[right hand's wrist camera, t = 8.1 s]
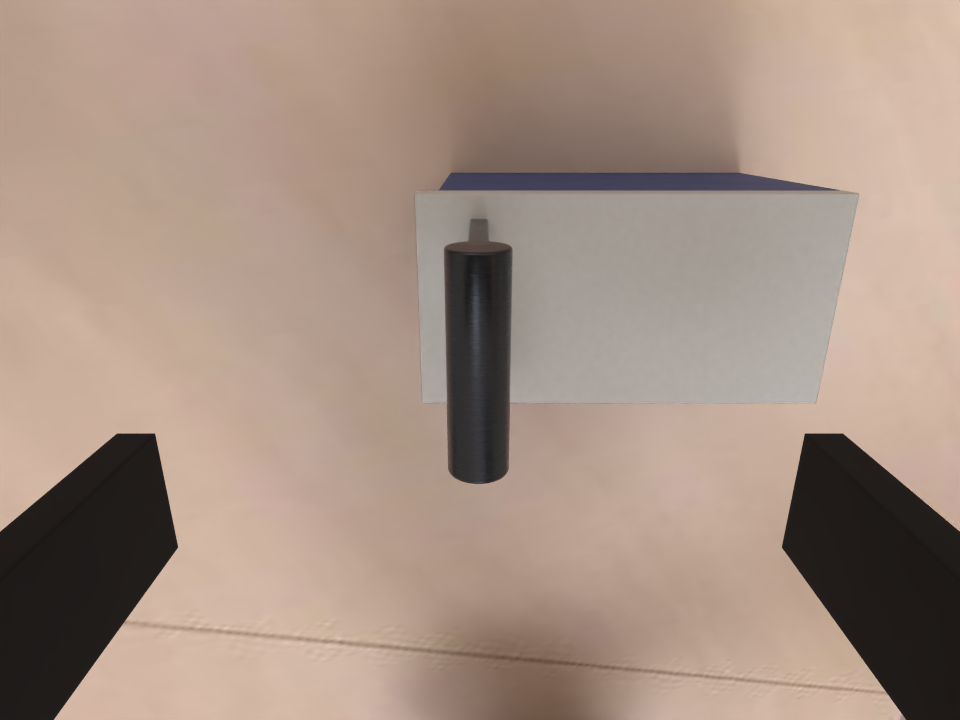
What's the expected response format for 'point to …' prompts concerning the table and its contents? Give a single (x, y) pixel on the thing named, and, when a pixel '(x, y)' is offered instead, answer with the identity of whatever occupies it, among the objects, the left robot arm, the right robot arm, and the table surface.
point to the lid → (620, 302)
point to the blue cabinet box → (619, 182)
